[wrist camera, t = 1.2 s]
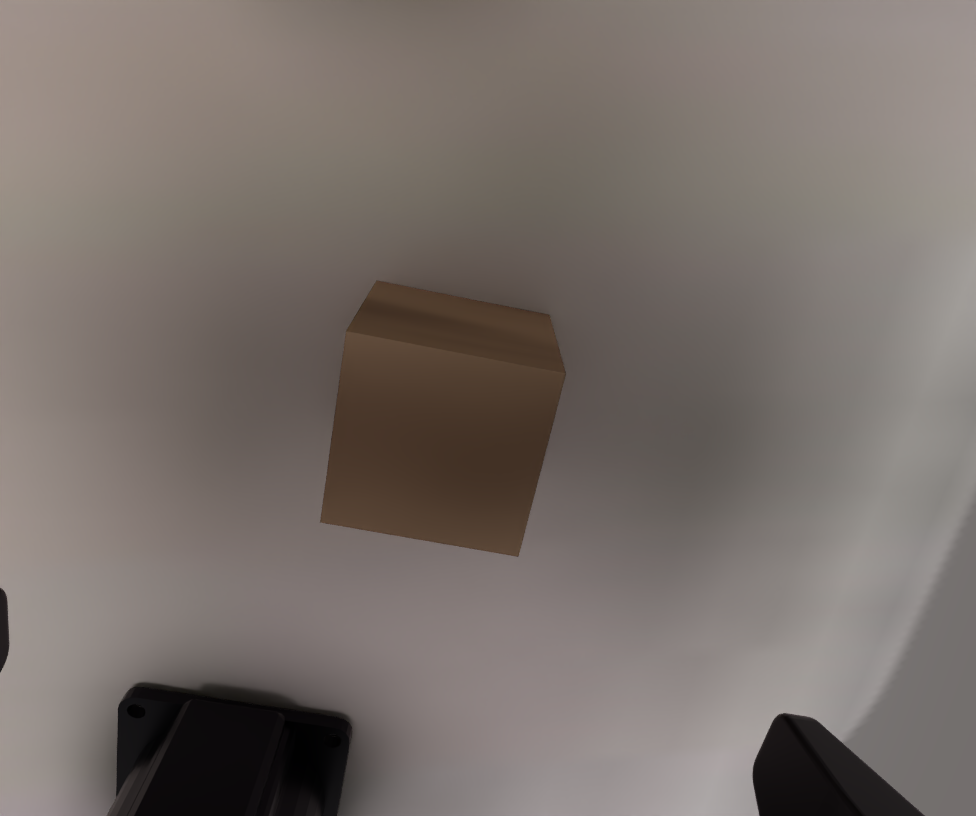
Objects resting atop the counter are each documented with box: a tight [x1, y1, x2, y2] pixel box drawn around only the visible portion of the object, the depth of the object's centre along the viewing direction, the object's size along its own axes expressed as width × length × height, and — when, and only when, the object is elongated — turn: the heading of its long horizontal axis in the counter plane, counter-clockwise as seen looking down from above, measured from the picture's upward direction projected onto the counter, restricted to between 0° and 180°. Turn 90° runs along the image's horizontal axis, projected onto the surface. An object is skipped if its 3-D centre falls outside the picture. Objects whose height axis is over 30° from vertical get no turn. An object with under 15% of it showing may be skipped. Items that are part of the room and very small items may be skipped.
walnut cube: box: [320, 281, 566, 557], centre depth 16 cm, size 4×4×4 cm
